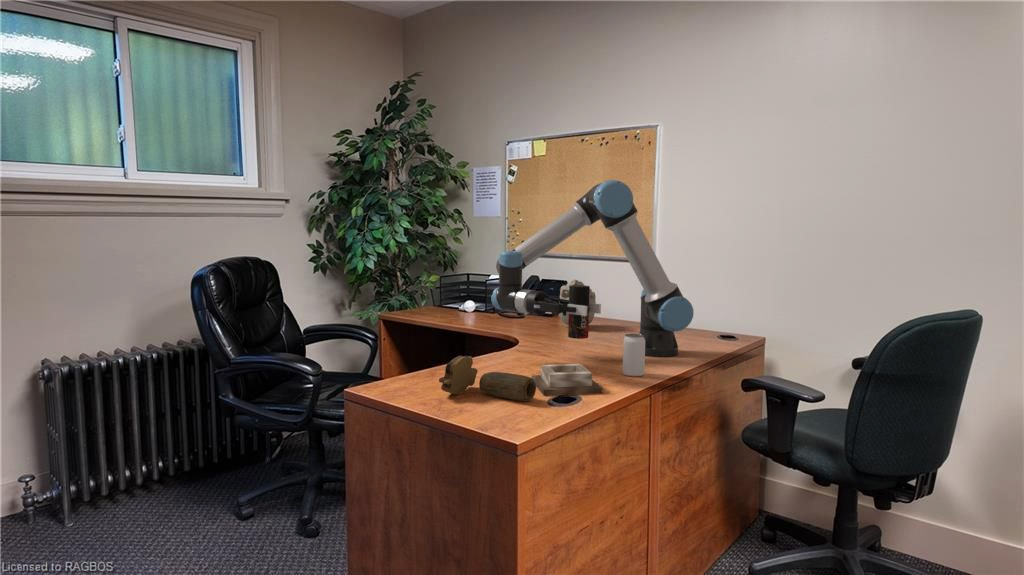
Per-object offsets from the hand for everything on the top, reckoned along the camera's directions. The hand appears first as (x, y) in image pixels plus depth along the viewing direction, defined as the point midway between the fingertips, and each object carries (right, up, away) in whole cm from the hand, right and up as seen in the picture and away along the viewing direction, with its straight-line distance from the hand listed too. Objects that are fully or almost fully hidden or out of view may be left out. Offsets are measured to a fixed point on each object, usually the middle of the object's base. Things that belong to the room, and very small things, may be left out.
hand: (593, 309), depth 174 cm
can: (+13, -20, +9) cm, 26 cm away
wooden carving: (-38, -22, -13) cm, 45 cm away
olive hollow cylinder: (-25, -22, -17) cm, 37 cm away
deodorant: (-4, -8, +4) cm, 10 cm away
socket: (-8, -21, -6) cm, 23 cm away
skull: (+5, -12, +94) cm, 94 cm away
